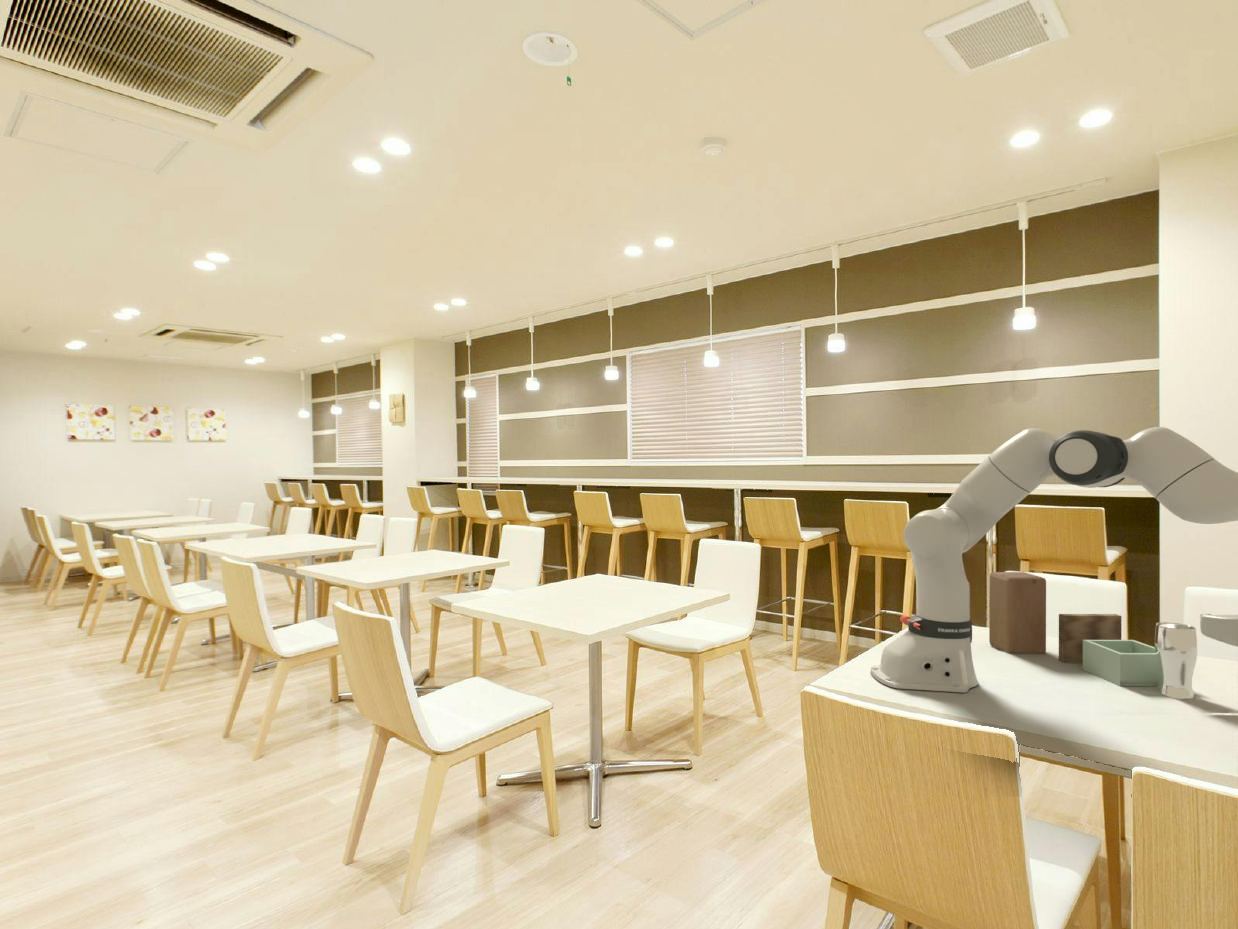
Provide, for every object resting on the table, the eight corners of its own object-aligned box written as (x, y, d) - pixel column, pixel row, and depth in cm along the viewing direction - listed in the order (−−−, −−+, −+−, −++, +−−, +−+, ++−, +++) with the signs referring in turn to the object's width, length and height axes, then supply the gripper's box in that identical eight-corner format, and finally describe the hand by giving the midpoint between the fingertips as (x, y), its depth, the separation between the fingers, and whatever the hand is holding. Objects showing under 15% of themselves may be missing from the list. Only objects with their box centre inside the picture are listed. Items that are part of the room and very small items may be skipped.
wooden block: (1047, 655, 172) (1048, 577, 172) (1008, 655, 172) (1008, 577, 172) (1024, 645, 182) (1024, 571, 182) (987, 645, 182) (987, 571, 182)
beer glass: (1205, 703, 138) (1205, 630, 138) (1166, 701, 140) (1166, 629, 139) (1184, 692, 145) (1184, 622, 145) (1147, 690, 146) (1147, 621, 146)
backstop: (1118, 690, 146) (1119, 635, 146) (1058, 662, 166) (1058, 614, 166) (1183, 690, 146) (1183, 635, 146) (1115, 662, 166) (1115, 614, 166)
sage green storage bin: (1120, 686, 147) (1120, 654, 147) (1082, 669, 159) (1082, 639, 159) (1175, 686, 147) (1175, 654, 147) (1133, 669, 159) (1133, 640, 159)
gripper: (1360, 617, 116) (1282, 601, 130) (1241, 618, 116) (1176, 601, 130) (1361, 653, 116) (1282, 633, 130) (1242, 654, 116) (1176, 634, 130)
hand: (1228, 617), depth 130 cm, fingers open, 8 cm apart
